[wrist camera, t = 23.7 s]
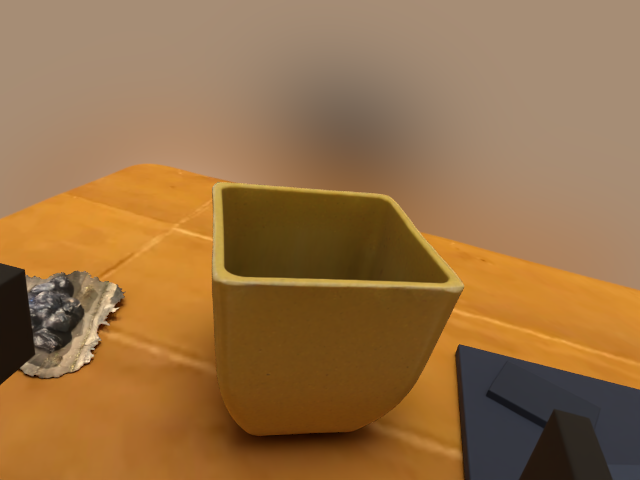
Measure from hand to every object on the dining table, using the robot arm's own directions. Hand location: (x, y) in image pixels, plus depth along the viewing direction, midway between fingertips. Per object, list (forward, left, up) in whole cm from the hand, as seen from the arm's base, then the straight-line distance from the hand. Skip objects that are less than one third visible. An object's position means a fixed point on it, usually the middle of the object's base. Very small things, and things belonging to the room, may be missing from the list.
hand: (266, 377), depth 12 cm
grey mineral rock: (+13, -9, -9) cm, 18 cm away
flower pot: (0, -9, -9) cm, 12 cm away
